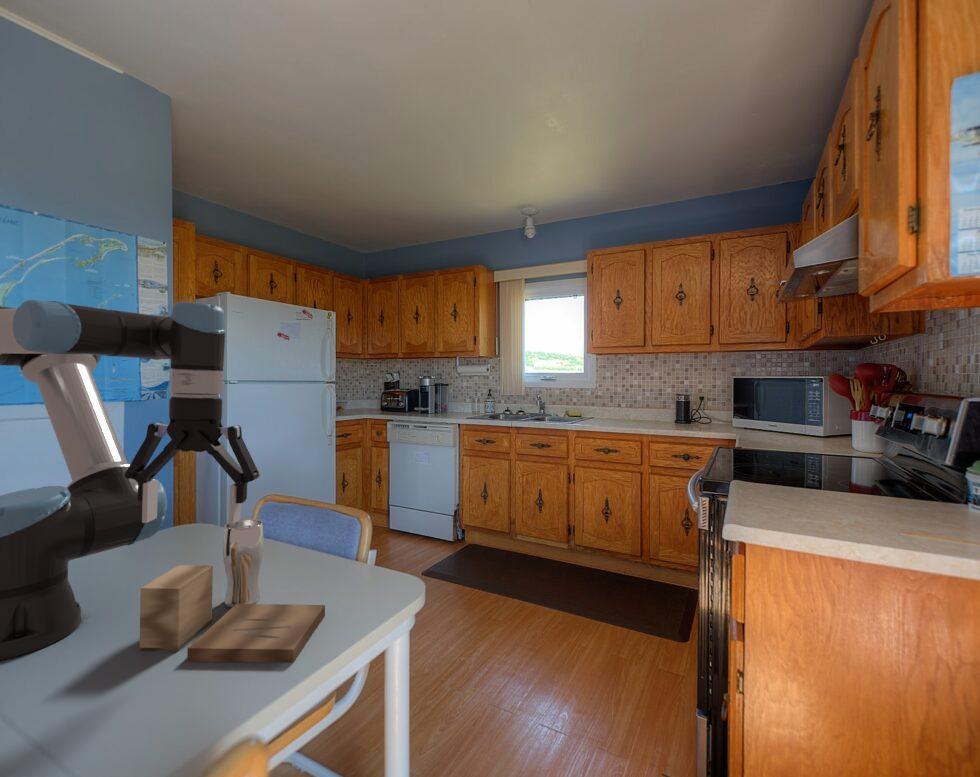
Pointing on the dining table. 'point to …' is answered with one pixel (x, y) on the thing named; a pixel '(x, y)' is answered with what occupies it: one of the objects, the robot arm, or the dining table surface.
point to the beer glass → (242, 560)
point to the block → (175, 608)
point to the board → (258, 634)
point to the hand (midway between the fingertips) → (192, 521)
